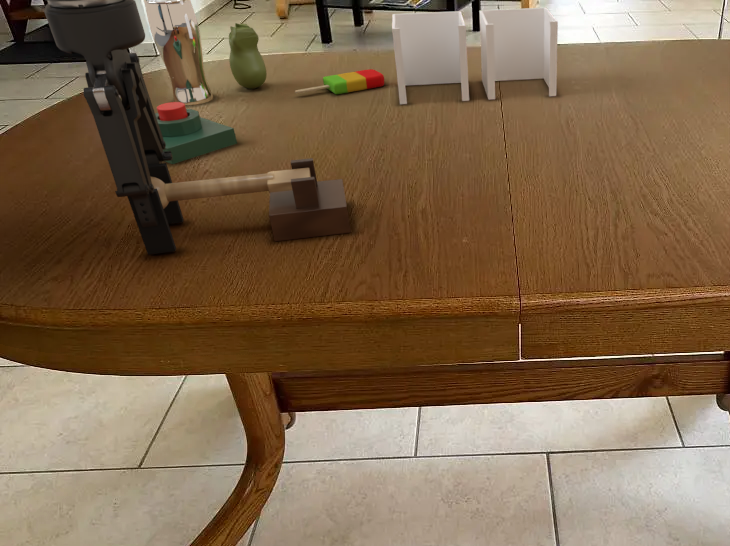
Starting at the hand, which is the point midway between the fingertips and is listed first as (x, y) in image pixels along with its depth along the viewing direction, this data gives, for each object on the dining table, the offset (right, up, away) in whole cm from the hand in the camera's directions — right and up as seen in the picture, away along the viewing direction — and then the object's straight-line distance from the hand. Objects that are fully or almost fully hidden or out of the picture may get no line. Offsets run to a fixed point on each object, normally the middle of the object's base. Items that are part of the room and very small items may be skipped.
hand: (166, 236), depth 79 cm
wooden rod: (+7, +3, -1) cm, 8 cm away
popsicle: (+8, +33, +45) cm, 56 cm away
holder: (+15, +2, +3) cm, 15 cm away
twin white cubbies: (+31, +32, +43) cm, 62 cm away
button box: (-9, +18, +24) cm, 31 cm away
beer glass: (-15, +30, +41) cm, 53 cm away
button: (-9, +20, +22) cm, 31 cm away
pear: (-7, +34, +46) cm, 58 cm away
